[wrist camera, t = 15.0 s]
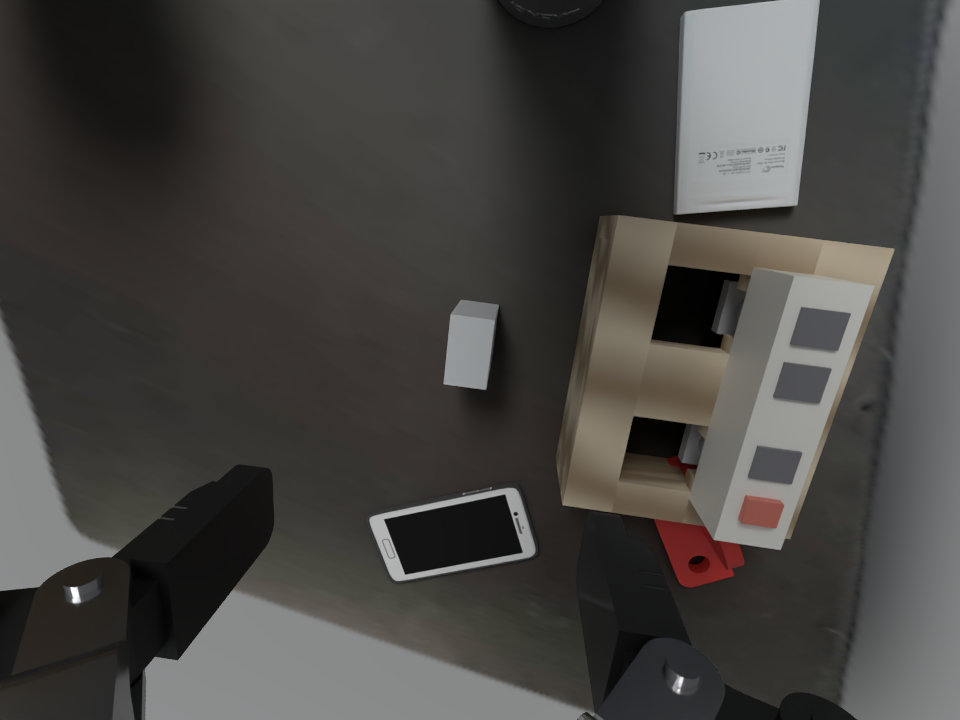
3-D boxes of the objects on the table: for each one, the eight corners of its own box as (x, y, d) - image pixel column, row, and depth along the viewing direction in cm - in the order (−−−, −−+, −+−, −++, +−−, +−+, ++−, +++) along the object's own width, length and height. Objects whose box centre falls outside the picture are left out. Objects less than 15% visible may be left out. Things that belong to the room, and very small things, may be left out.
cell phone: (365, 510, 45) (362, 516, 44) (519, 477, 42) (519, 483, 41) (392, 578, 47) (389, 585, 46) (541, 550, 44) (541, 557, 43)
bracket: (633, 469, 41) (659, 527, 33) (687, 451, 40) (725, 506, 32) (678, 581, 43) (711, 657, 36) (728, 566, 42) (773, 642, 35)
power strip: (726, 261, 33) (799, 276, 24) (786, 269, 32) (881, 287, 24) (671, 469, 37) (716, 545, 29) (723, 477, 37) (785, 555, 28)
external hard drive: (807, 6, 31) (787, 206, 35) (677, 20, 32) (670, 214, 35) (822, -6, 30) (800, 205, 33) (685, 10, 30) (677, 214, 34)
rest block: (461, 299, 38) (450, 314, 32) (498, 304, 38) (495, 320, 32) (454, 360, 39) (443, 384, 34) (491, 365, 39) (486, 390, 33)
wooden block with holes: (599, 215, 35) (618, 215, 29) (822, 243, 35) (894, 248, 28) (555, 458, 41) (562, 505, 34) (745, 485, 40) (790, 539, 34)
